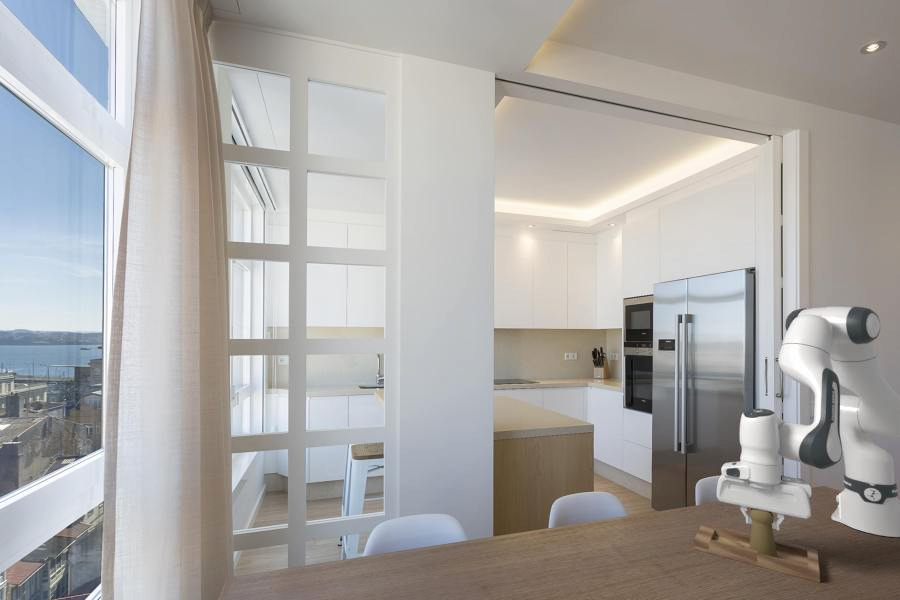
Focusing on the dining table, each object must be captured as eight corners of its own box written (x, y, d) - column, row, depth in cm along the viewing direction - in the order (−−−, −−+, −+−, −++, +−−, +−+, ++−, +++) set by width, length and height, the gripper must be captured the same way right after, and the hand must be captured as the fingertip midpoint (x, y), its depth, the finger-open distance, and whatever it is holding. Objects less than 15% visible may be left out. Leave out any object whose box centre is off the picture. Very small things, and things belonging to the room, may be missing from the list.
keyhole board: (702, 531, 131) (702, 522, 131) (817, 559, 115) (817, 549, 115) (694, 548, 120) (693, 539, 120) (820, 582, 104) (819, 571, 104)
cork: (782, 559, 113) (780, 514, 114) (755, 557, 114) (754, 512, 115) (769, 548, 119) (768, 505, 120) (744, 546, 120) (743, 503, 121)
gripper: (810, 477, 114) (813, 533, 113) (717, 462, 127) (719, 513, 126) (811, 483, 109) (814, 542, 108) (714, 467, 122) (716, 520, 121)
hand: (762, 526), depth 117 cm, fingers closed on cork, 4 cm apart
